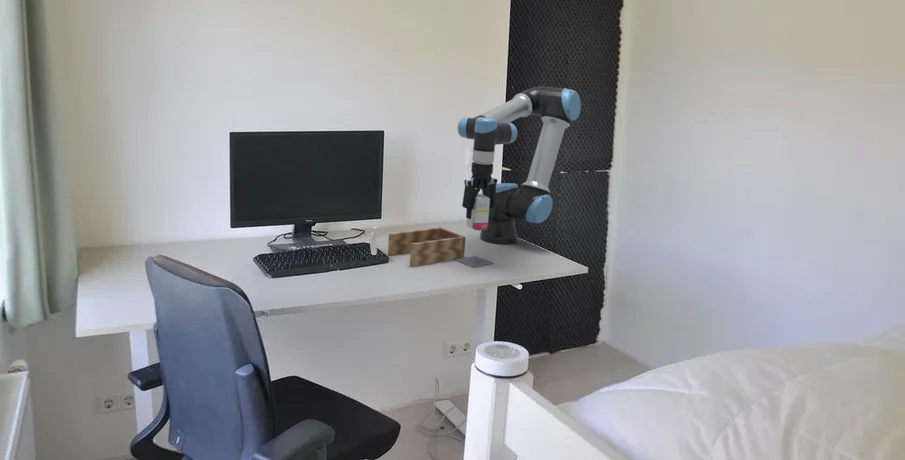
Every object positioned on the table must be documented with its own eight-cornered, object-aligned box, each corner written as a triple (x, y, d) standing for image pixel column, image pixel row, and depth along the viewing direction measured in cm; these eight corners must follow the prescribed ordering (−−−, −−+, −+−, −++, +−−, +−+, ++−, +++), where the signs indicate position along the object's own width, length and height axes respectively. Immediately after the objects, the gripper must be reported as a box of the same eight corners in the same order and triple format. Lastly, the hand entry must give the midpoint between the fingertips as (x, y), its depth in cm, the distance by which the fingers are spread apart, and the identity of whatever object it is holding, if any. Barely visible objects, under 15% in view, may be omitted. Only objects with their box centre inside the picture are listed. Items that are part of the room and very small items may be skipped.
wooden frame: (439, 247, 273) (440, 227, 271) (463, 258, 261) (465, 237, 259) (387, 255, 258) (388, 233, 256) (411, 266, 247) (412, 244, 245)
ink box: (487, 230, 251) (490, 197, 248) (474, 230, 249) (477, 197, 247) (479, 224, 259) (481, 192, 256) (466, 224, 257) (469, 192, 254)
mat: (475, 256, 264) (475, 255, 264) (493, 264, 257) (493, 262, 257) (454, 260, 258) (455, 258, 258) (472, 267, 251) (472, 266, 251)
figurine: (371, 252, 259) (372, 221, 256) (389, 258, 254) (391, 226, 251) (354, 257, 252) (355, 224, 249) (373, 263, 247) (374, 230, 244)
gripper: (495, 159, 257) (490, 221, 263) (454, 161, 245) (449, 226, 251) (510, 163, 252) (503, 226, 257) (468, 165, 240) (463, 231, 245)
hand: (477, 226), depth 254 cm, fingers closed on ink box, 6 cm apart
